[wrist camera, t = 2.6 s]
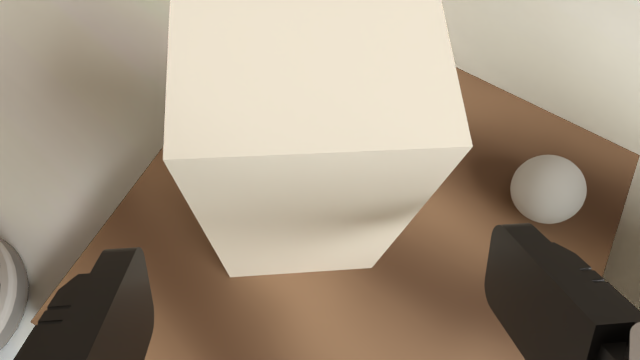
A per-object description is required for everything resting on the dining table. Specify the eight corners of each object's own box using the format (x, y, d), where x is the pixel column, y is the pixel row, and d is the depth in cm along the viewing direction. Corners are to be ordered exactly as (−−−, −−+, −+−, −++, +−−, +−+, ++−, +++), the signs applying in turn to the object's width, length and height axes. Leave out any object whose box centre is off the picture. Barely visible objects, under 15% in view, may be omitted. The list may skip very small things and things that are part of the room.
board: (285, 5, 27) (285, -15, 26) (619, 167, 25) (639, 155, 24) (47, 325, 20) (30, 321, 19) (482, 595, 18) (499, 613, 17)
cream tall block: (371, 267, 21) (472, 146, 10) (230, 277, 20) (163, 159, 9) (359, 161, 23) (431, -45, 11) (229, 167, 22) (171, -44, 11)
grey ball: (511, 160, 23) (543, 131, 20) (570, 189, 23) (610, 164, 20) (489, 212, 22) (519, 188, 19) (551, 243, 22) (590, 224, 19)
